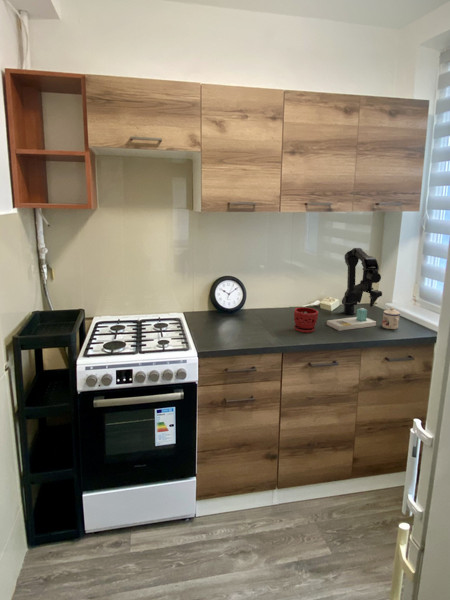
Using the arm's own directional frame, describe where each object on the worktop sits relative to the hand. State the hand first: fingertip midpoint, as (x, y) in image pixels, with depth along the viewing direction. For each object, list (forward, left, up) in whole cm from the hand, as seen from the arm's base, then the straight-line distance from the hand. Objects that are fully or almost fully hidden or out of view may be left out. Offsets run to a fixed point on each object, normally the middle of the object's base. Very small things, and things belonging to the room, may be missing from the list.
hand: (364, 304), depth 247 cm
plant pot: (-2, -39, -12) cm, 41 cm away
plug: (-1, -1, -12) cm, 12 cm away
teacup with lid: (+11, +11, -12) cm, 20 cm away
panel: (-1, -8, -12) cm, 14 cm away
